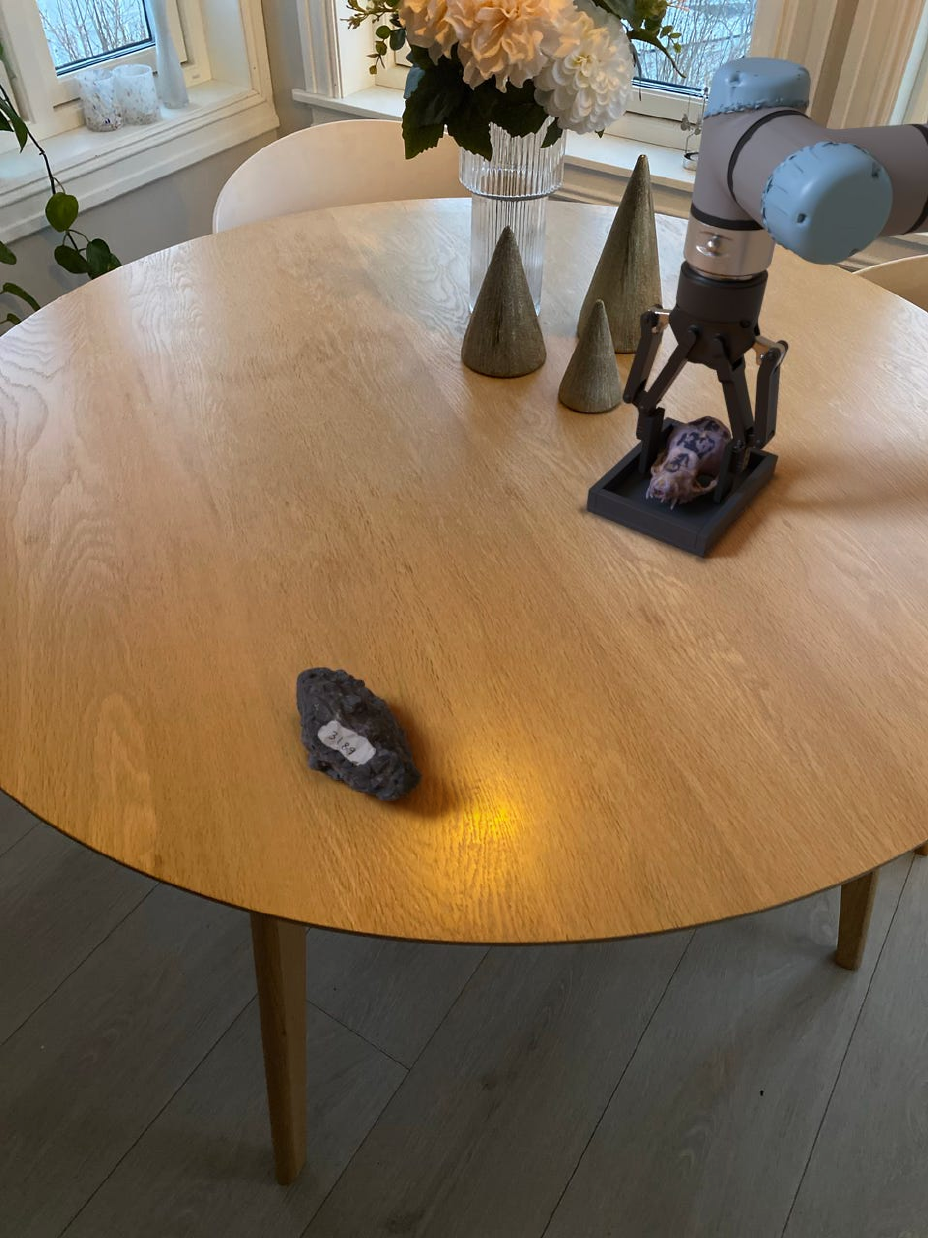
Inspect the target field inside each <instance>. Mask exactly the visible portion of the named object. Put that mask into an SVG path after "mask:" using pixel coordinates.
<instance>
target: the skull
mask: <svg viewBox="0 0 928 1238" xmlns="http://www.w3.org/2000/svg"><path fill="white" fill-rule="evenodd" d="M684 423H685V424H682V425H680V426H678V427H677V428H675V429H674V430H673V431H672V433H671V434H670V436H669V438H668V441H667V445H666V449H665V450H664V451H663V452H662V453H660V454H658V455H657V460H656V461H655V462H654V463H653V465H652V466H651V474H652V476H653V478H652V477H651V481H650V486H649V488H648V490H647V493H646V498H647V499H648V498H649V495H650V496H651V498H653V495H654V496H655V497H657V498H660V499H662V501H661V502H665V503H666V502H667V501H668V500H669V499H670V498H671V500H672V504H671V510H672V509H673V507H674V505H675V503H676V501H677V499H680V502H679V505H680V504H681V503H686V502H688V501H692V499H693V498H695V497H697V496H699V495H703V494H706V493H708V492H710V491H712V490H713V489H714V488H715V487H716V485H717V480H718V476H719V471H720V467H721V462H722V458H723V453H724V448H725V445H726V444H727V443H728V442H729V441H730V440H731V439H732V438H733V437H732V432H731V429H730V428H729V427H728V426H727V425H725V423H724V422H723V421H722V420H721V419H719V418H716V417H714V416H711V415H704V416H702V417H699V418H697V419H695V420H691V421H688V422H684ZM700 475H704V476H708V477H711V478H713V479H714V480H712V481H711V483H710V485H709V486H708V487H706V488H703V487H701V485H700V483H698V482H697V481H696V478H697V477H699V476H700Z"/></svg>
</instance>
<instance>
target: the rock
mask: <svg viewBox="0 0 928 1238" xmlns="http://www.w3.org/2000/svg"><path fill="white" fill-rule="evenodd" d="M295 683H296V685H295V686H296V693H295V698H296V709H297V711H298V713H299V716H300V721H299V725H300V727H301V733H300V737H301V738H300V741H301V744H302V746H303V747H304V748H305V750H306V751H307V752H308V753H309V754H308V761H307V762H306V764H307V766H308V767H309V769H310V770H313V771H318V772H320V773H322V774H325V775H326V776H328V777H330V778H332V779H333V780H334V781H337V782H342V783H345V784H346V786H348V787H349V788H351V789H352V790H353V791H355V792H356V793H366V794H369V795H375V796H376V797H377V798H378V799H379V800H380V801H397V800H399V799H400V798H401V797H403V798H407V797H409V796H410V795H411V792H412V791H413V790H414V789H416V788H417V787H418V786H419V785H420V781H421V780H422V778H423V777H424V775H423V774H422V773H421V771H420V770H419V769H418V768H417V766H416V765H415V762H414V760H413V759H412V758H413V754H412V750H411V748H410V746H409V742H408V738H407V732H406V731H405V730H404V728H403V727H404V726H403V725H401V724H400V723H399V721H398V717H397V716H396V715H395V714H394V713H393V712H392V711H391V710H390V707H389V705H388V704H387V702H386V700H385V699H382V698H381V697H380V696H377V695H376V694H375V693H374V692H373V691H372V690H371V689H370V688H369V687H367V686H366V682H365V680H364V679H361V678H359V679H358V678H355V675H352V674H350V673H347V671H346V670H345V669H343V668H340V669H336V670H332V669H330V668H329V667H326V666H325V667H312V668H307V669H305V670H302V671H301V672H300V673H299V674H298V675H297V677H296V682H295Z"/></svg>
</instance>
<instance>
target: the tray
mask: <svg viewBox="0 0 928 1238" xmlns="http://www.w3.org/2000/svg"><path fill="white" fill-rule="evenodd" d="M685 423H686V422H683V421H680V420H678V419H675V418H672V417H669V416H666V417H664V421H663V427H662V433H661V439H660V445H659V451H658V454H660V453H662V452H663V451H664V450H665V449H666V445H667V441H668V438H669V436H670V434H671V433H672V431H673V430H674V429H675V428H677V427H678V426H680V425H682V424H685ZM642 442H643V441H641V440H640V441H639V442H638V443H637V444H636V445H635V446H634V447H633V448H632V449H631V450H630V451H629V452H627V453H626V454H625V455H624V456H623V457H622V458H621V459H620V460H619V461H617V463H616V464H615V465H613V466H612V467H611V468H609V470H608V471H606V473H605V474H604V475H603V476H601V477H600V478H599V480H597V481H596V482H595V483H594V484H593V485H592V486H591V487H590V488H589V489H588V491H587V499H586V511H587V512H588V513H589V512H590V513H591V514H594V515H597V516H599V517H601V518H604V519H606V520H608V521H611V522H613V523H616V524H618V525H621V526H623V527H626V528H628V529H630V530H633V531H636V532H638V533H640V534H643V535H645V536H648V537H650V538H651V539H652V538H653V539H655V540H658V541H659V542H662V543H665V544H667V545H670V546H672V547H674V548H677V549H679V550H681V551H684V552H687V553H689V554H692V555H694V556H696V557H699V558H701V559H704V558H705V556H707V554H708V553H709V552H710V551H711V550H712V548H713V547H714V546H715V545H716V544H717V542H718V541H719V540H720V539H721V538H722V537H723V535H724V534H725V533H726V532H727V531H728V530H729V528H730V527H732V525H733V524H734V522H735V521H736V520H737V519H738V518H739V517H740V515H741V514H742V513H743V512H744V511H745V509H746V508H747V507H748V506H749V505H750V504H751V503H752V502H753V500H754V499H755V498H756V497H757V496H758V495H759V493H760V492H761V491H762V489H764V487H765V486H766V485H767V484H768V483H769V482H770V480H771V479H772V478H773V477H774V475H775V471H776V467H777V464H778V460H779V455H778V454H775V453H773V452H769V451H766V450H763V449H756V448H755V447H751V451H750V455H749V460H748V464H747V466H746V467H745V469H744V470H743V471H742V472H741V473H740V474H739V475H735V477H734V481H733V486H732V490H731V492H730V493H729V494H728V495H727V496H726V497H725V498H724V500H723V501H722V502H721V503H717V502H715V501H713V499H714V494H715V490H716V487H715V488H714V489H713V490H712V491H710V492H708V493H706V494H703V495H699V496H697V497H695V498H693V499H692V501H688V502H686V503H681V504H680V505H679V502H680V499H677V501H676V503H675V505H674V507H673V509H672V510H671V504H672V500H671V498H670V499H669V500H668V501H667V502H666V503H665V502H661V501H662V499H660V498H657V497H655V496H654V495H653V498H651V496H650V495H649V498H648V499H647V498H646V493H647V490H648V488H649V486H650V481H651V477H652V478H653V476H652V474H651V469H650V470H649V471H648V472H647V473H646V474H645V475H644V474H641V473H639V472H638V469H639V462H640V456H641V449H642ZM712 480H714V479H713V478H711V477H708V476H704V475H700V476H699V477H697V478H696V481H697V482H698V483H700V485H701V487H703V488H706V487H708V486H709V485H710V483H711V481H712Z"/></svg>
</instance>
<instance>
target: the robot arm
mask: <svg viewBox="0 0 928 1238" xmlns="http://www.w3.org/2000/svg"><path fill="white" fill-rule="evenodd" d="M810 75H811V74H810V71H809V70H808V68H806V67H805V66H804V65H802V64H800V63H797V62H795V61H792V60H787V59H782V58H777V57H763V56H756V57H755V56H754V57H741V58H734V59H731V60H728V61H725V62H724V63H722V64H721V65H720V66H719V67H718V68H717V69H716V70H715V72H714V73H713V75H712V78H711V82H710V87H709V92H708V98H707V103H706V108H705V111H704V112H703V113H702V117H701V118H702V120H703V121H702V127H701V134H700V140H699V141H700V142H699V147H698V154H697V155H698V156H697V162H696V170H695V175H694V183H693V189H692V191H693V192H692V196H691V204H690V207H689V208H690V209H689V215H688V221H687V228H686V233H685V239H684V246H683V252H682V255H683V258H684V261H682V263H681V265H680V270H679V276H678V281H677V289H676V294H675V304H674V307H673V308H672V309H669V308H668V309H666V308H664V307H663V305H661V303H655V304H653V305H652V306H651V307H649V308H648V309H646V310H645V311H644V312H643V313H642V314H640V317H639V322H640V323H639V324H640V325H639V326H640V338H639V341H638V344H637V348H636V350H635V354H634V357H633V360H632V363H631V367H630V370H629V373H628V377H627V380H626V383H625V386H624V389H623V393H622V397H621V398H622V401H623V403H625V404H627V405H633V406H634V407H635V408H636V409H637V412H638V415H637V422H636V430H635V437H636V440H639V441H640V442H641V441H643V442H642V449H641V456H640V462H639V469H638V472H639V473H641V474H644V475H645V474H646V473H647V472H648V471H649V470H650V469H651V466H652V465H653V463H654V462H655V461H656V460H657V455H658V451H659V445H660V439H661V433H662V427H663V421H664V419H665V415H666V408H664V407H662V406H658V405H659V404H660V403H661V402H662V401H663V398H664V397H665V395H666V393H667V392H668V391H669V389H671V387H672V385H673V383H674V382H675V381H676V379H677V378H678V376H679V375H680V374H681V372H682V371H683V369H684V367H685V366H686V365H687V364H688V363H692V364H696V365H704V366H705V367H707V368H708V369H710V370H713V371H716V376H717V381H718V382H719V383H720V384H721V387H722V392H723V397H724V402H725V407H726V412H727V416H728V421H729V426H730V433H731V438H732V439H731V440H730V441H729V442H728V443H727V444H726V445H725V448H724V453H723V458H722V462H721V467H720V471H719V476H718V480H717V485H716V490H715V494H714V499H713V501H715V502H717V503H721V502H722V501H723V500H724V498H725V497H726V496H727V495H728V494H729V493H730V492H731V490H732V486H733V481H734V477H735V475H739V474H740V473H741V472H742V471H743V470H744V469H745V467H746V466H747V464H748V460H749V455H750V451H751V447H755V448H756V449H761V450H763V449H764V448H765V447H766V446H767V445H768V444H769V443H770V442H771V441H772V440H773V438H775V436H776V434H777V433H776V432H777V419H778V408H779V407H778V405H779V392H780V381H781V380H780V377H781V366H782V363H783V362H784V359H785V357H786V355H787V353H788V350H789V347H790V346H789V343H788V342H787V341H786V340H783V339H780V340H777V341H776V342H775V341H773V340H771V339H770V338H768V337H765V336H763V335H761V329H760V324H759V318H760V314H761V310H762V308H763V307H762V305H763V302H764V297H765V293H766V290H767V289H766V288H767V283H768V279H769V271H768V270H767V269H769V268H770V266H771V265H772V262H773V256H774V253H775V247H776V244H777V245H778V246H781V247H782V248H784V250H786V251H790V252H792V253H793V254H794V255H796V256H797V257H799V258H801V259H802V260H804V261H806V262H807V263H810V264H813V265H819V266H832V265H837V264H841V263H843V262H844V261H847V260H848V259H849V258H851V257H853V256H854V255H856V254H858V253H861V252H863V251H865V250H866V249H868V247H869V246H871V245H872V244H873V242H875V240H876V239H877V238H888V237H896V236H897V237H898V236H906V235H911V234H926V233H928V122H927V123H905V124H893V125H891V124H890V125H877V126H876V125H875V126H864V127H862V126H861V127H850V128H830V127H829V128H828V127H825V126H823V125H822V124H820V123H819V122H817V121H816V120H813V119H812V118H811V117H810V116H808V115H807V114H806V113H807V109H808V108H809V107H810V93H811V85H812V80H811V76H810ZM668 327H670V329H671V332H672V334H673V336H674V339H675V341H676V343H677V346H676V347H675V349H674V350H673V352H672V353H671V354H670V356H669V357H668V359H667V362H666V364H665V365H664V366H663V368H662V369H661V371H660V373H659V374H658V376H656V378H655V380H654V382H653V383H652V385H651V386H650V388H649V389H648V391H646V387H647V384H648V381H649V378H650V375H651V372H652V368H653V366H654V363H655V359H656V356H657V353H658V351H659V347H660V344H661V341H662V338H663V334H664V331H665V330H667V329H668ZM751 349H752V350H753V351H754V352H755V364H756V365H757V366H759V367H758V369H757V373H756V385H755V398H754V399H755V401H754V414H753V410H752V409H753V408H752V403H751V399H750V398H751V397H750V392H749V386H748V383H747V382H748V381H747V378H746V367H747V365H746V364H747V363H746V358H745V355H746V353H748V352H749V351H750V350H751Z"/></svg>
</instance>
